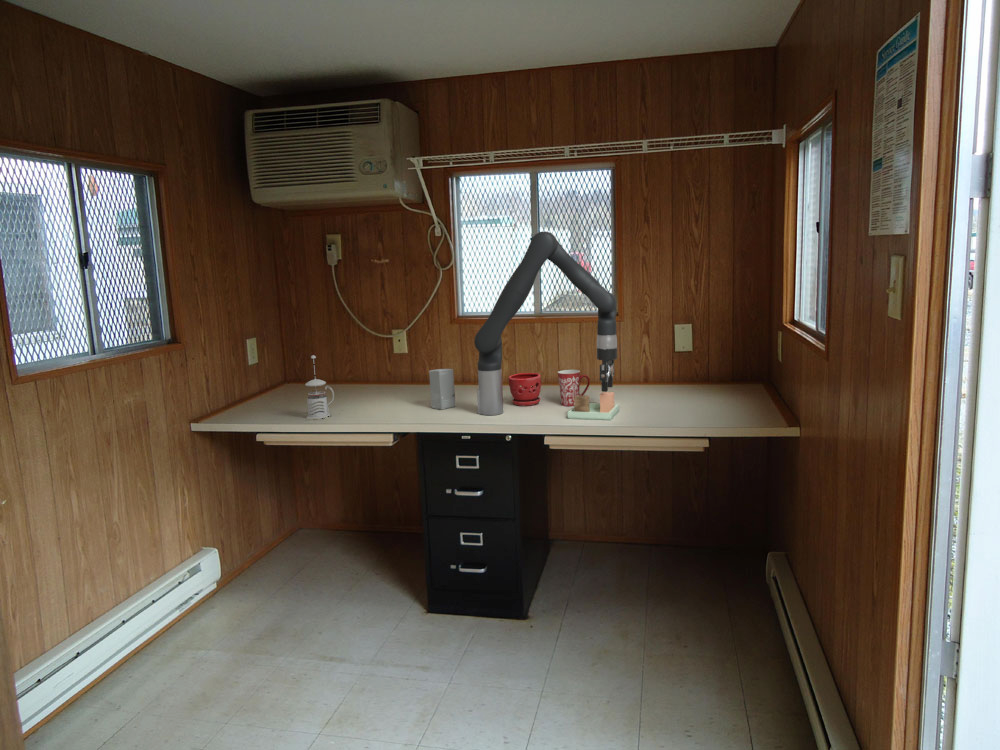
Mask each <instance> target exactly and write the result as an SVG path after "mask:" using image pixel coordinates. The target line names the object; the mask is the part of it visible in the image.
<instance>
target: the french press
mask: <svg viewBox="0 0 1000 750" xmlns="http://www.w3.org/2000/svg"><path fill="white" fill-rule="evenodd" d="M316 358H317V356H316V355H313V354H312V355H311V356H310V359H313V360H312V361H313V363H315V359H316ZM313 369H314V370H313V372H314V373H313V374H316V370H315V369H316V368H315V366H313ZM326 384H327V381H325V380H322V379H318V378H316V377H314V379H311V380H309V381H307V382H306V383H305V387H321V386H324V385H325V386H324V388H325V391H317V388H315V391H311V392H308V393H307V397H306V401H307V412H308V414H307V416H306V418H323V417H327V416H329V415H331V414H330V410H329V405H330V404H331V403H332V402H333V401H334V398H335V392H334V390H333V388H332V387H331V386H329V385H326ZM327 389H329V390H330V391H331V392H332V398H331V401H330V402H328V396H327V395H326V390H327Z"/></svg>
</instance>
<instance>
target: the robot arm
mask: <svg viewBox="0 0 1000 750" xmlns="http://www.w3.org/2000/svg"><path fill="white" fill-rule="evenodd" d="M547 260H548V261H550V262H551V263H552V264H553V265H555V266H556V267H557V268H558V269H559V271H561V272H562V273H563V274H564V276H566V278H567V279H568V280H569V282H570V283H571V284H572V285H574V287H575V288H576V289H578V290H579V291H580V292H581V293H582V294H583V295H585V296H586V297H587V298H588V299H589V300H590V302H592V304H593V305H594V306H595V307H596V308H597V319H598V320H597V325H596V327H597V328H596V329H597V330H596V331H597V334H596V359H597V360H599V361H601V362H602V363H601V364H599V381H600V383H601V393H602V392H609V391H608V389H609V388H613V385H614V382H613V381H614V375H615V360H617V359H618V338H617V319H616V317H617V298H616V296H615V295H614V294H613V293H611V292H610V291H608V290H607V289H606V288H604V287H603V286H602V285H601V283H600V282H599V281H598V280H597V279H596V278H595V277H594V276H593V275H592V274H591V273H590V272H589V271H588V270H586V268H584V267H583V266H582V265H581V264H580V263H579V262H578V261H577V260H575V259H574V258H573V257H572V256H571V255H570V254H569V253H568V252H567V250H566V249H565V248H564V247H563V246H562V245H561V243H560V242H559V241H558V239H557V238H556V236H555V235H554V234H553V233H552V232H550V231H539V232H537V233H535V234H534V235H533V237H532V238H531V240H530V243H529V244H528V247H527V249H526V252H525V253H524V256H523V258H522V259H521V262H520V263H519V265H518V266H517V267H516V269H515V270H514V271H513V273H512V275H511V276H510V277H509V278H508V281H507V282H506V284H505V286H504V287H503V289H502V291H501V293H500V295H498V299H497V300H496V301H495V305H493V308H492V310H491V312H490V314H489V316H488V317H487V319H486V321H485V322H484V324H483V325H482V326H481V327H480V328H479V330H478V331H477V333H475V337H474V341H473V342H474V347H475V349H476V351H478V361H477V379H478V381H477V382H478V389H477V390H476V396H477V397H476V398H477V401H476V402H477V414H478V415H484V416H495V415H496V416H497V415H501V414H503V413H504V395H503V393H504V392H503V390H504V389H503V373H502V365H503V364H502V363H503V340H502V334H503V332H504V330H505V328H506V326H507V325H508V324H509V322H510V321H511V320H512V319H513V318H514V317H515V316H516V315H517V313H518V311H520V309H521V307H522V306H523V305H524V303H525V301H526V300H527V298H528V297H529V294H530V292H531V291H532V289H533V286H534V283H535V281H536V278H537V276H538V273H539V272H540V269H541V268H542V267H543V265H544V264H545V262H546V261H547Z"/></svg>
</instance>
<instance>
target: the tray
mask: <svg viewBox="0 0 1000 750" xmlns="http://www.w3.org/2000/svg"><path fill="white" fill-rule="evenodd" d="M589 409H590V412H575V406H572V408H570V410H568V411H567V419H568V420H590V421H592V420H593V421H594V420H595V421H612V420H613V419H614V418H615V416H617V414H618V413H619V412H620V403H615V406H614V407H613V408H612V409H611V411H610V412H609V413H604V412H600V402H599V403H595V402H594V403H591V402H589Z"/></svg>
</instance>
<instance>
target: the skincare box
mask: <svg viewBox="0 0 1000 750" xmlns="http://www.w3.org/2000/svg"><path fill="white" fill-rule="evenodd" d="M428 373H429V374H428V375H429V388H430V389H429V390H430V405H431V409H436V410H441V409H443V410H445V409H446V408H447V409H450V408H453V407H456V393H455V379H454V378H455V377H454V369H453V368H439V369H438V368H437V369H431V370H428Z"/></svg>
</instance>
